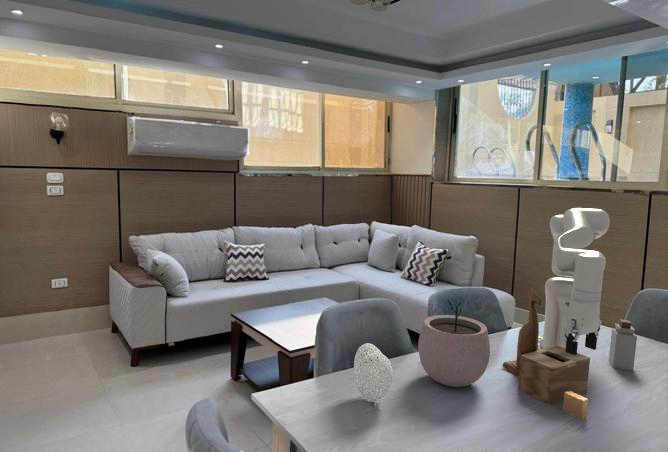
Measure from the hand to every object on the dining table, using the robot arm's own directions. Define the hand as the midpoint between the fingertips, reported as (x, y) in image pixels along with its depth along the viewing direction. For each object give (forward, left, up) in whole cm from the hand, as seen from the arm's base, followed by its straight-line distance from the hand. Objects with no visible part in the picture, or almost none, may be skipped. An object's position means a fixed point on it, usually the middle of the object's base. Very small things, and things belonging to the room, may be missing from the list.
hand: (580, 350), depth 135 cm
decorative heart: (-34, -52, -20) cm, 65 cm away
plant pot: (-33, -19, -20) cm, 43 cm away
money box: (-13, +8, -20) cm, 25 cm away
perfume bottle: (-14, +52, -20) cm, 58 cm away
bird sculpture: (-27, +12, -21) cm, 36 cm away
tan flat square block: (0, 0, -20) cm, 20 cm away
